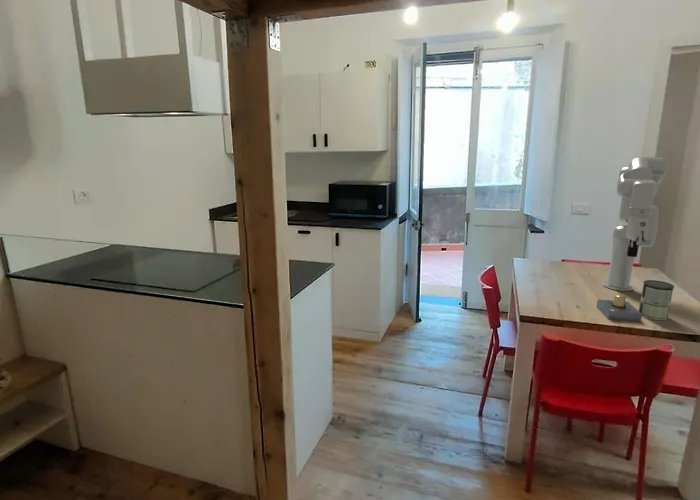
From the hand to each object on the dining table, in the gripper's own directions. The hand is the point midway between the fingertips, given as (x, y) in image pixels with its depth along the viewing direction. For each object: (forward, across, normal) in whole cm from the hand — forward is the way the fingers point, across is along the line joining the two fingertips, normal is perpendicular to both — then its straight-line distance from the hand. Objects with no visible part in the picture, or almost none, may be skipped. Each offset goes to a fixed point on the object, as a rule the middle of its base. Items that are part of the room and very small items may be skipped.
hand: (631, 256), depth 176 cm
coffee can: (+25, -1, -12) cm, 28 cm away
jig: (+25, -3, +2) cm, 25 cm away
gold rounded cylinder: (+25, -3, +2) cm, 25 cm away
